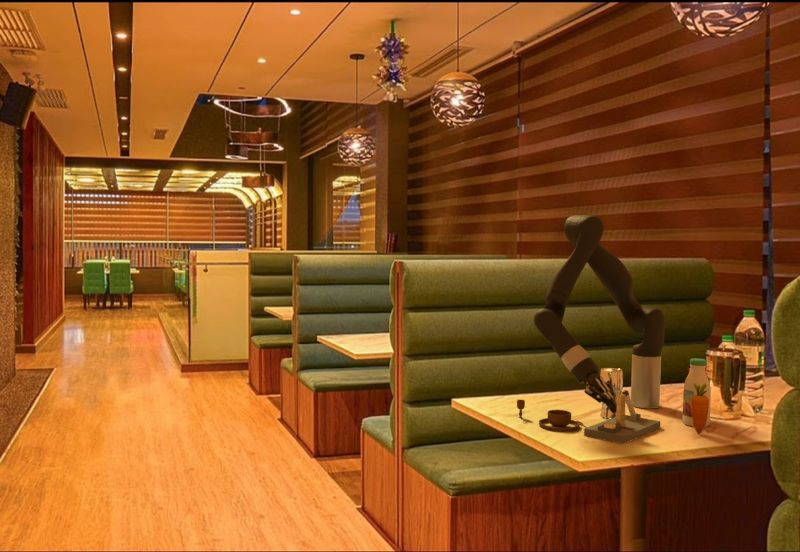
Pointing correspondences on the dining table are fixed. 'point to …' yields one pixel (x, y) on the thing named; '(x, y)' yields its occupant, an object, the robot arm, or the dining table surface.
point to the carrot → (699, 408)
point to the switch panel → (623, 429)
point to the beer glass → (617, 383)
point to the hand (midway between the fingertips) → (617, 411)
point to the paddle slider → (620, 410)
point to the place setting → (554, 419)
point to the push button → (610, 426)
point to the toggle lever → (629, 403)
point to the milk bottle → (698, 378)
